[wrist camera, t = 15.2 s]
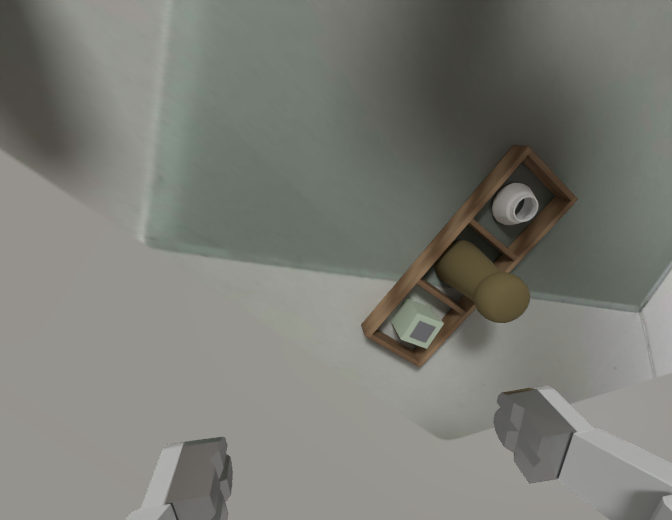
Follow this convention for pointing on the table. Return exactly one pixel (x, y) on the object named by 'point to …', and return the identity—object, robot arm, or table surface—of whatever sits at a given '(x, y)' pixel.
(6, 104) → the table surface
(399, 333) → the cube with grey panel
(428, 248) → the organiser
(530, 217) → the lidless jar
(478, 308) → the cork
